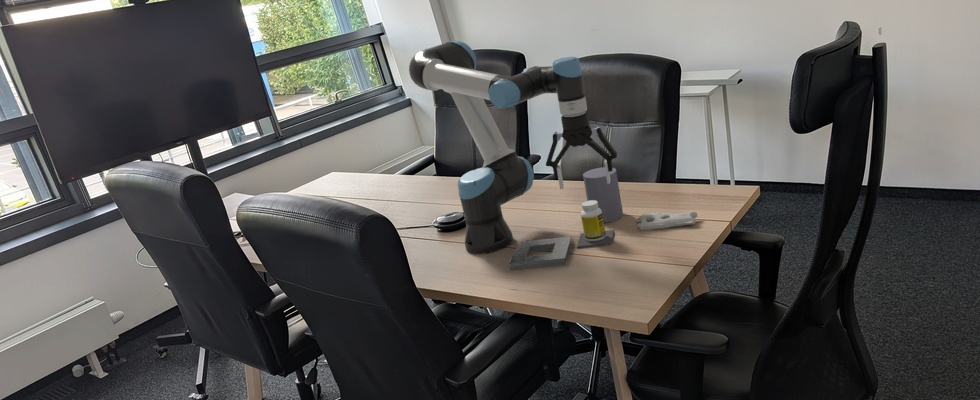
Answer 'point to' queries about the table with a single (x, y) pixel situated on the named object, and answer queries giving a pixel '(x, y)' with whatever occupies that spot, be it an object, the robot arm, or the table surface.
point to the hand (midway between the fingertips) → (585, 185)
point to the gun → (665, 220)
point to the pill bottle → (592, 221)
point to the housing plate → (558, 256)
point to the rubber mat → (606, 241)
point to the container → (604, 193)
